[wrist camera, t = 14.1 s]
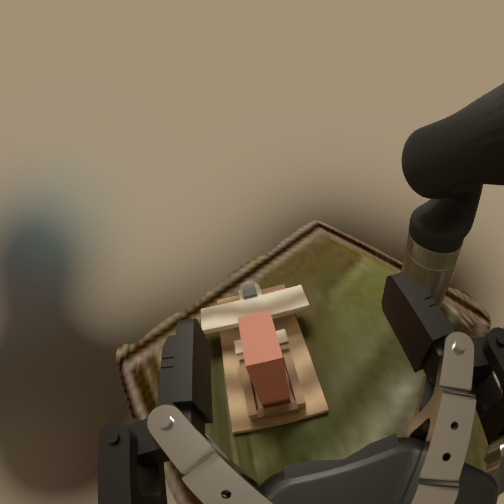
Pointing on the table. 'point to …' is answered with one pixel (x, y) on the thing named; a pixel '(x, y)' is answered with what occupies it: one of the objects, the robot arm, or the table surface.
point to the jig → (292, 347)
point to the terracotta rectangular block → (264, 358)
